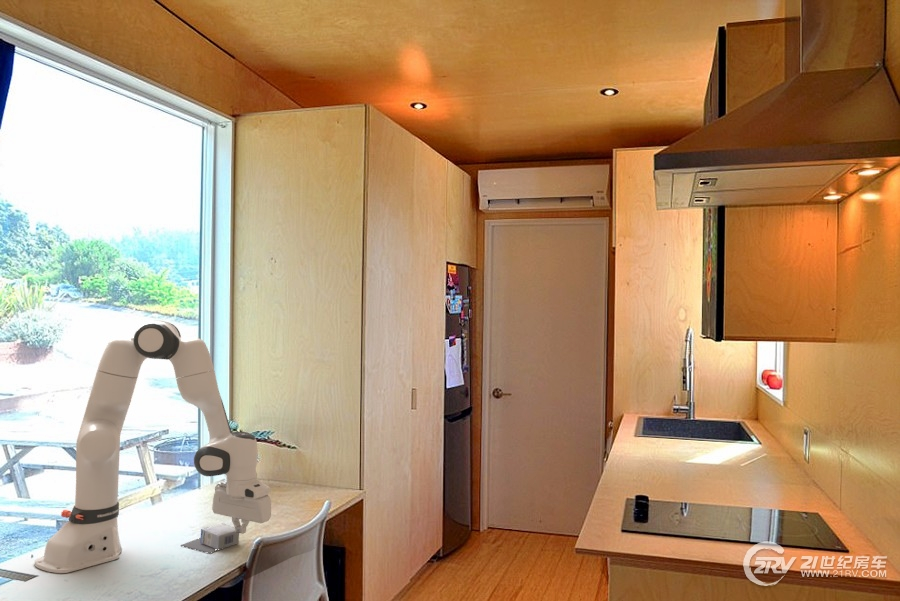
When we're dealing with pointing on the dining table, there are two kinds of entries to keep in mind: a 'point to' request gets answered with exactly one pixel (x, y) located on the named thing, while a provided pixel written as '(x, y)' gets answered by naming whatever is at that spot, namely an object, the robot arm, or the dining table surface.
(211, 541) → the medicine box
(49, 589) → the dining table surface
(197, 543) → the mat
